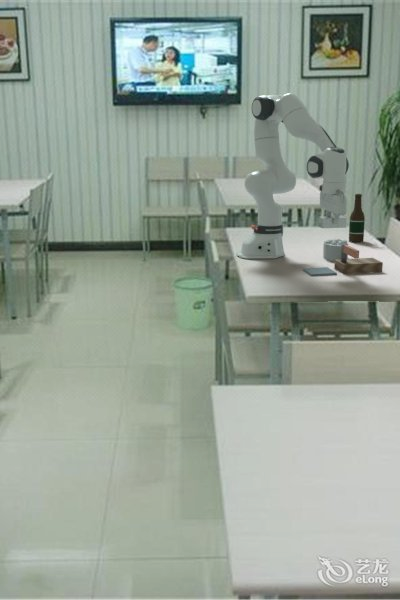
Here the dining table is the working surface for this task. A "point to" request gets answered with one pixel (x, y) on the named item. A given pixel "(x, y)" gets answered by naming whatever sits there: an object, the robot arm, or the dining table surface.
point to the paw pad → (333, 249)
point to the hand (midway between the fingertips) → (332, 222)
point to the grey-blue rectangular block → (332, 222)
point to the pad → (319, 271)
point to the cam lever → (348, 252)
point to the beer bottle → (357, 222)
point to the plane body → (358, 265)
